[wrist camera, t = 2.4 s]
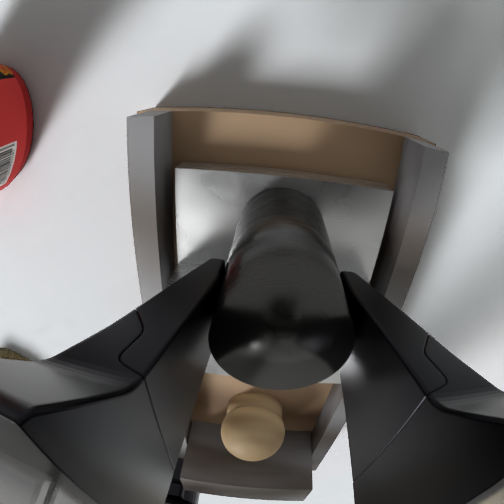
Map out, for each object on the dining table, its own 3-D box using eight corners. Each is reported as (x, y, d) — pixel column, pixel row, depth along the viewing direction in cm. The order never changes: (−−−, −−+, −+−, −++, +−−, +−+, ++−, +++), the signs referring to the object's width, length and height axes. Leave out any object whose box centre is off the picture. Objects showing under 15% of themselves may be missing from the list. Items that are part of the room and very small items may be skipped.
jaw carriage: (348, 320, 15) (374, 446, 9) (186, 305, 15) (143, 428, 9) (385, 183, 12) (473, 285, 6) (182, 162, 12) (91, 247, 6)
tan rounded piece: (280, 423, 21) (279, 471, 17) (224, 418, 21) (217, 466, 17) (289, 392, 19) (289, 447, 15) (225, 386, 19) (216, 441, 15)
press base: (319, 431, 24) (322, 501, 18) (181, 418, 25) (164, 487, 19) (417, 135, 13) (508, 182, 7) (154, 107, 13) (64, 133, 7)
